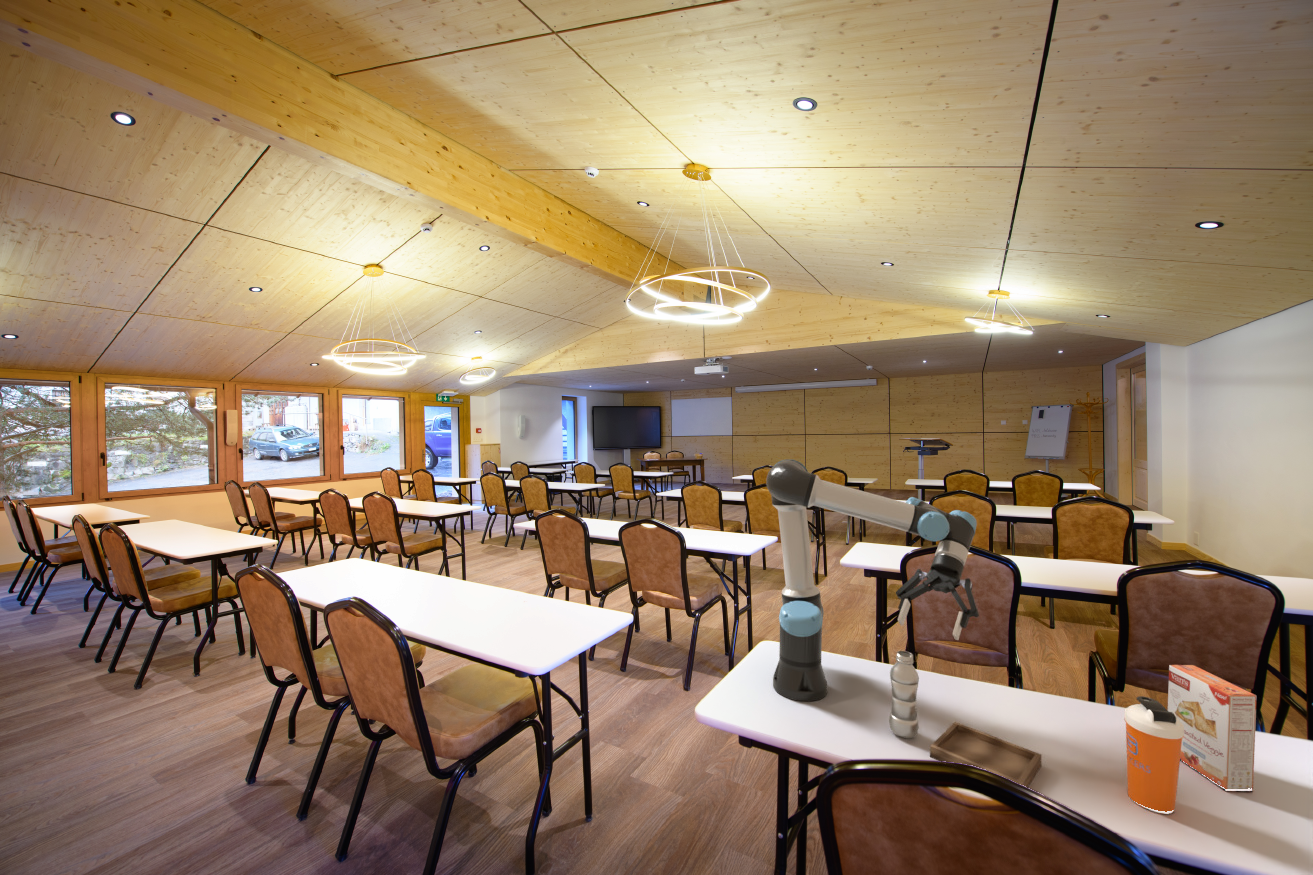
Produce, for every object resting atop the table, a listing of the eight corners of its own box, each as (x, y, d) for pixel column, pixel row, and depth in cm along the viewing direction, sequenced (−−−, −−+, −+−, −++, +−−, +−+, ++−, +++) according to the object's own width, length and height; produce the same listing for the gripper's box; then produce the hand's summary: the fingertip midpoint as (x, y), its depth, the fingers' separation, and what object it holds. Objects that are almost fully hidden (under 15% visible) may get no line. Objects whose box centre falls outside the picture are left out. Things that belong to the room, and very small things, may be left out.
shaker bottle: (1156, 788, 115) (1160, 694, 114) (1194, 819, 106) (1198, 718, 105) (1110, 785, 116) (1113, 692, 115) (1144, 816, 107) (1147, 715, 106)
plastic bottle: (906, 744, 130) (908, 662, 129) (883, 730, 136) (884, 651, 135) (924, 737, 133) (926, 656, 132) (900, 723, 139) (902, 646, 138)
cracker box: (1164, 751, 128) (1167, 663, 127) (1190, 752, 127) (1194, 663, 127) (1224, 792, 114) (1228, 693, 113) (1254, 793, 113) (1258, 694, 113)
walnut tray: (930, 756, 126) (930, 745, 125) (954, 731, 136) (954, 721, 136) (1021, 796, 112) (1022, 784, 112) (1041, 765, 122) (1041, 754, 122)
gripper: (1003, 578, 144) (984, 651, 134) (907, 560, 162) (883, 624, 152) (997, 561, 140) (976, 636, 130) (899, 545, 158) (875, 609, 149)
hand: (926, 629), depth 141 cm, fingers open, 13 cm apart
